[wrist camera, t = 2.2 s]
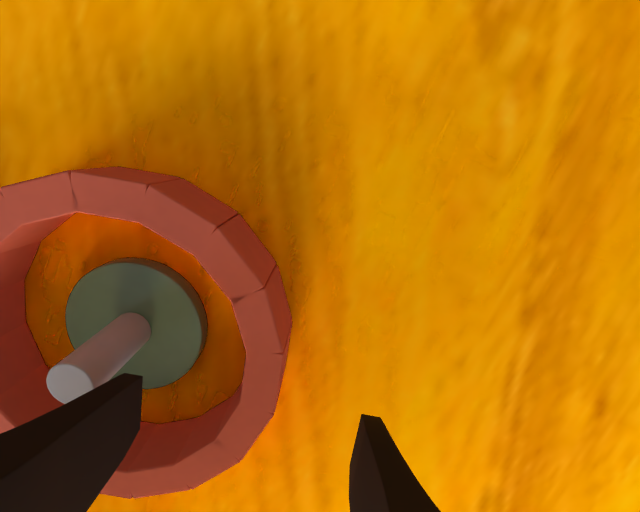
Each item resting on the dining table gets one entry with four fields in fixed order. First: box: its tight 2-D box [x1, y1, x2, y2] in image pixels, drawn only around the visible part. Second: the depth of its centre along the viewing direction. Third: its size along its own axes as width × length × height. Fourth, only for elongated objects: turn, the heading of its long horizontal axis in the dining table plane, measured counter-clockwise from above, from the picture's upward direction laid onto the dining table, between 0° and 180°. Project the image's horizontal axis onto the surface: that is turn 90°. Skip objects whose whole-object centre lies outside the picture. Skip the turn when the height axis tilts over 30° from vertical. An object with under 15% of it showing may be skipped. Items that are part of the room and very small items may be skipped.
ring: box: [0, 167, 292, 499], centre depth 16 cm, size 13×13×3 cm
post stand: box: [46, 258, 207, 404], centre depth 15 cm, size 6×6×5 cm
